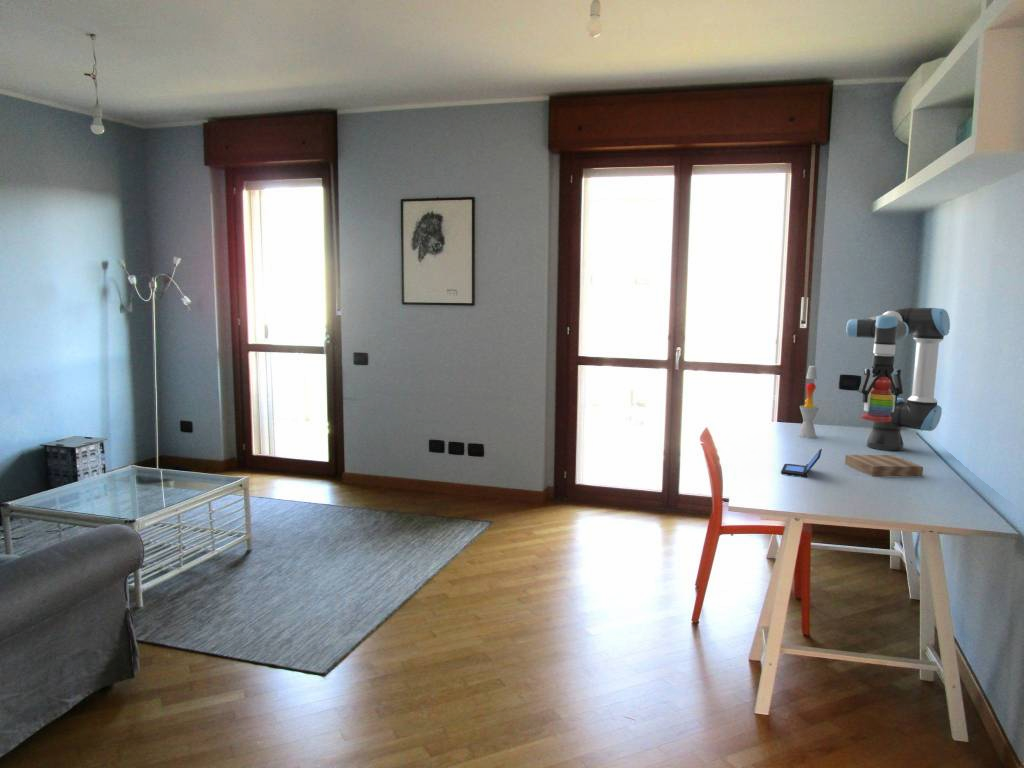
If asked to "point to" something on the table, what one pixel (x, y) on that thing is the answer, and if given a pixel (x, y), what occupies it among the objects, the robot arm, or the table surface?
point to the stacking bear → (880, 402)
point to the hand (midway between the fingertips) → (878, 411)
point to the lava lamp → (809, 407)
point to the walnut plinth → (883, 465)
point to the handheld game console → (800, 467)
